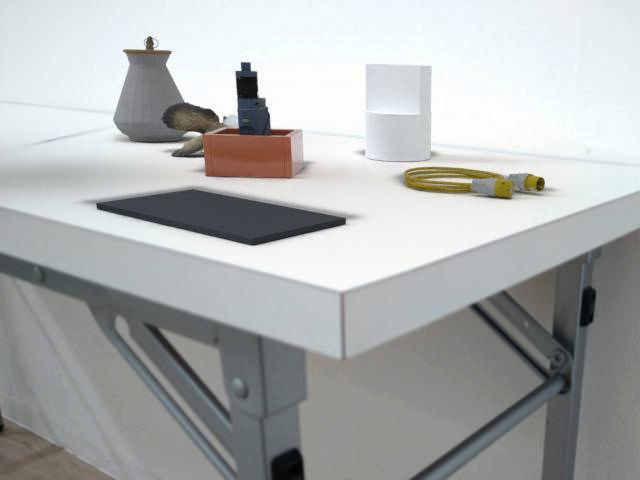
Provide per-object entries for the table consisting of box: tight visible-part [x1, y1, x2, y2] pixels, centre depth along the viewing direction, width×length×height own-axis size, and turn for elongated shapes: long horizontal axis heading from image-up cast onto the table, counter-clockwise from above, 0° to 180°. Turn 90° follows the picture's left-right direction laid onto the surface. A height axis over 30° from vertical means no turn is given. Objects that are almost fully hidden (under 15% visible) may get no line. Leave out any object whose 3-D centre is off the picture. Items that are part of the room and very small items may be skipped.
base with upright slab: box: [364, 63, 433, 162], centre depth 100 cm, size 9×9×12 cm
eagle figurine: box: [161, 101, 239, 157], centre depth 99 cm, size 8×7×9 cm
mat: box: [95, 188, 347, 246], centre depth 63 cm, size 20×10×1 cm, turn 55°
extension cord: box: [403, 166, 546, 199], centre depth 80 cm, size 12×16×2 cm
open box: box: [201, 127, 305, 179], centre depth 86 cm, size 10×9×4 cm
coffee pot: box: [112, 35, 188, 142], centre depth 116 cm, size 21×12×15 cm, turn 18°
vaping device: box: [235, 61, 272, 135], centre depth 84 cm, size 3×5×12 cm, turn 172°
